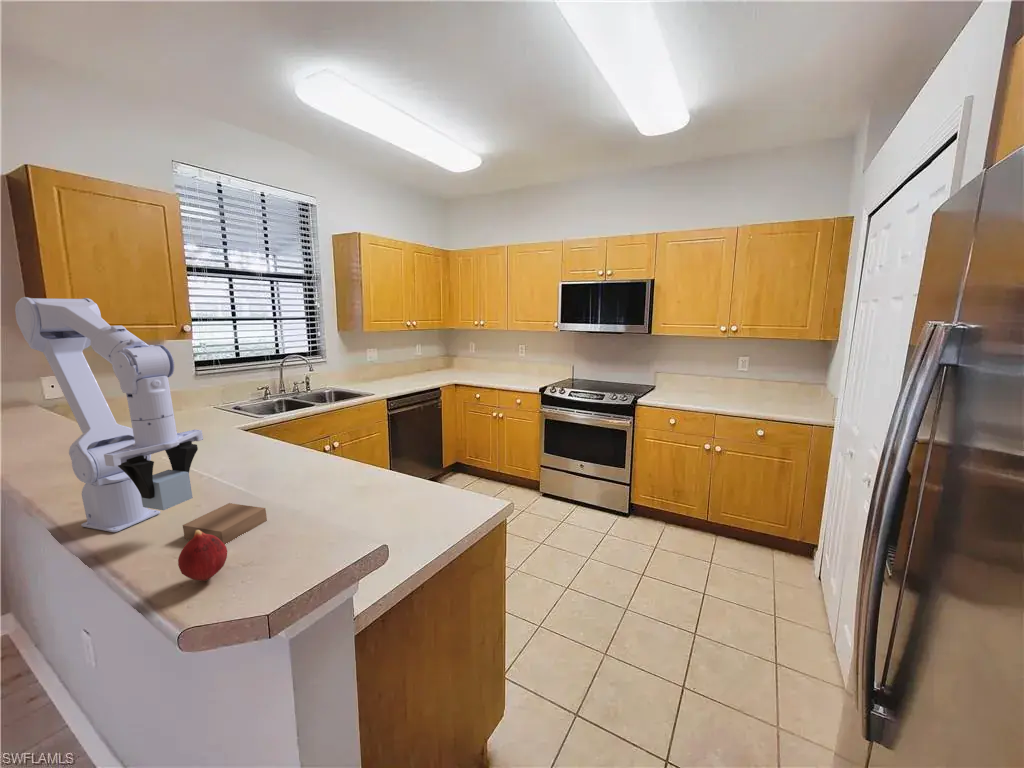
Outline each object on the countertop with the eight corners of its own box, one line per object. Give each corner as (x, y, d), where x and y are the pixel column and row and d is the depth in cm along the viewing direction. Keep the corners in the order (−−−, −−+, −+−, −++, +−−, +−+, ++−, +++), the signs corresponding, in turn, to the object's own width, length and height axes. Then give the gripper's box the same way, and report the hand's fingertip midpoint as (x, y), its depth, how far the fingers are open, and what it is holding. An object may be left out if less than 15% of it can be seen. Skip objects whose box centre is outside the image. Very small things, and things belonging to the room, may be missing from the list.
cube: (142, 507, 74) (138, 480, 73) (172, 495, 79) (168, 469, 78) (163, 510, 72) (158, 482, 72) (192, 498, 77) (188, 472, 76)
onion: (238, 567, 66) (231, 520, 65) (214, 591, 60) (205, 540, 59) (200, 569, 66) (192, 521, 65) (172, 593, 60) (163, 541, 59)
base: (185, 540, 75) (182, 525, 75) (231, 517, 84) (229, 503, 83) (223, 547, 73) (221, 531, 72) (267, 522, 81) (265, 508, 81)
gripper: (120, 429, 65) (135, 512, 67) (210, 408, 79) (220, 477, 81) (89, 426, 67) (105, 506, 69) (182, 406, 81) (193, 473, 83)
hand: (165, 490), depth 75 cm, fingers closed on cube, 5 cm apart
